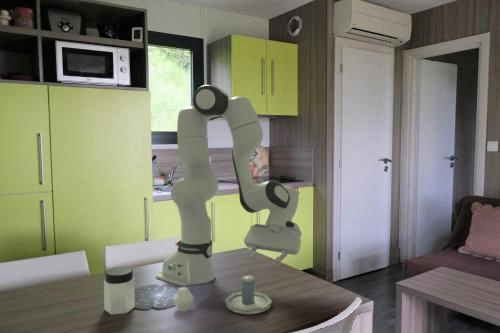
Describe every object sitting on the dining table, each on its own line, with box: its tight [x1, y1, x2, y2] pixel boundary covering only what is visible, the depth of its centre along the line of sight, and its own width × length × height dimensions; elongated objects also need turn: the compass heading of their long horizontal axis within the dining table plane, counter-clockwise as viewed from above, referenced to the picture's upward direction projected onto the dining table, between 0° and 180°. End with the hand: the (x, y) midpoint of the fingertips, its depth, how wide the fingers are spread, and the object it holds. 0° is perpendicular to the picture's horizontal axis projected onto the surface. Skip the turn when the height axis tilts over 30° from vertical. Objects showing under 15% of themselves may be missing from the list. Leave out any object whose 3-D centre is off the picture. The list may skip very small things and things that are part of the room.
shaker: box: [241, 274, 256, 305], centre depth 125 cm, size 4×4×8 cm
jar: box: [103, 266, 136, 315], centre depth 122 cm, size 9×8×12 cm
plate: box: [224, 291, 273, 315], centre depth 126 cm, size 14×14×2 cm
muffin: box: [172, 286, 194, 312], centre depth 122 cm, size 6×6×7 cm
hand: (265, 260), depth 135 cm, fingers open, 8 cm apart
